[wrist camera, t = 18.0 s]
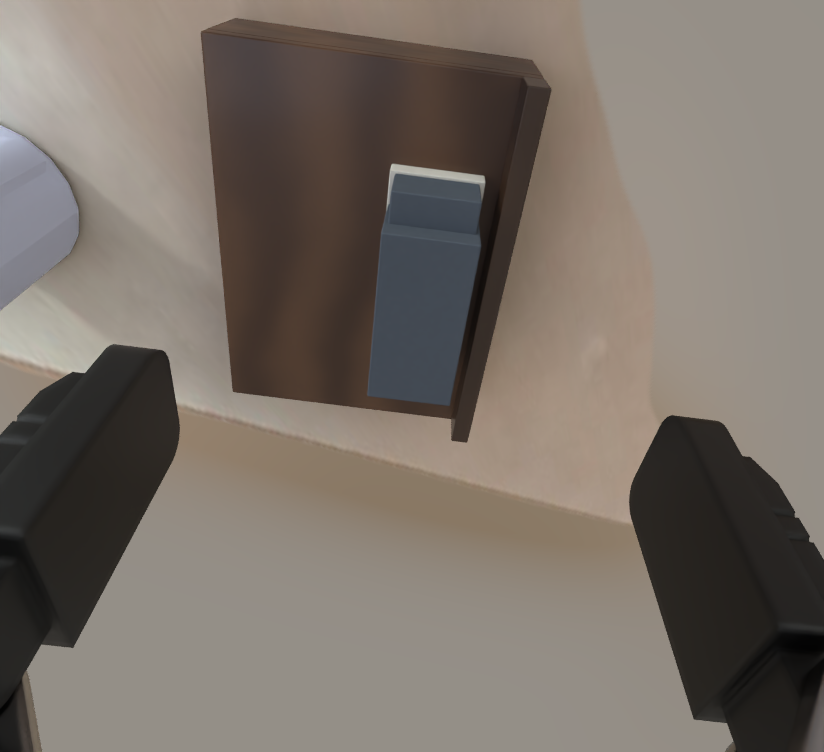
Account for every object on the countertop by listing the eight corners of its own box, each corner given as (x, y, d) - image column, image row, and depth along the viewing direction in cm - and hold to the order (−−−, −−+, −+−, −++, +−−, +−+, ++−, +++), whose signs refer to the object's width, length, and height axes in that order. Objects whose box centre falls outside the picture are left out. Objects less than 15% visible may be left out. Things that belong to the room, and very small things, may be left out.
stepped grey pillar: (450, 360, 35) (450, 409, 31) (374, 351, 35) (365, 399, 31) (484, 175, 28) (489, 210, 24) (391, 163, 28) (383, 196, 24)
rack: (253, 348, 41) (222, 413, 35) (234, 18, 29) (182, 37, 23) (465, 374, 41) (467, 443, 36) (532, 59, 29) (551, 88, 24)
